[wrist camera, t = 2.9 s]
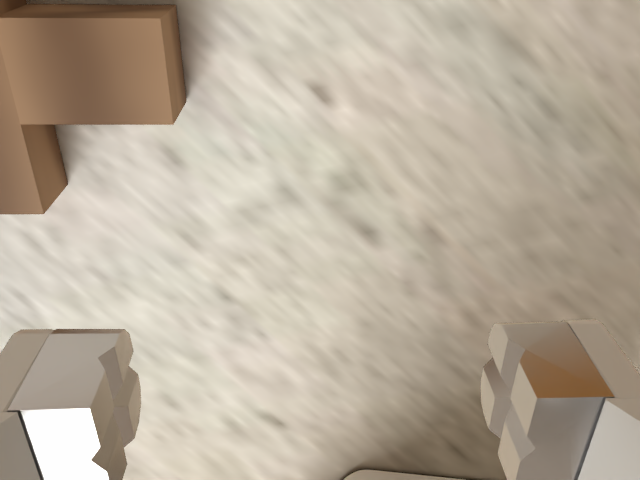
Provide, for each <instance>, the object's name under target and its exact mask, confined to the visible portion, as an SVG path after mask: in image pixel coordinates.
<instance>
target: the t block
mask: <svg viewBox="0 0 640 480" xmlns="http://www.w3.org/2000/svg"><path fill="white" fill-rule="evenodd" d="M185 103H186V93H185V83H184V74H183V65H182V56H181V47H180V38H179V28H178V19H177V10H176V5H106V4H27V3H26V0H0V214H44V213H45V212H46V211H47V209H48V208H49V207H50V206H51V204H52V203H53V202H54V201H55V200H56V198H57V197H58V196H59V195H60V193H61V192H62V191H63V190H64V188H65V187H66V186H67V185H68V183H67V178H66V174H65V169H64V165H63V161H62V156H61V152H60V148H59V143H58V139H57V134H56V130H55V126H54V124H174V122H175V121H176V119H177V117H178V115H179V114H180V112H181V110H182V108H183V107H184V105H185Z"/></svg>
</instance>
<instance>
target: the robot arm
mask: <svg viewBox="0 0 640 480" xmlns="http://www.w3.org/2000/svg"><path fill="white" fill-rule="evenodd" d="M488 347H489V349H490V352H491V354H492V356H493V358H492V359H491V360H490V361H489V362H488V363H487V364H486V365H485V366H484V367H483V371H482V377H481V383H480V387H481V404H482V409H483V414H484V417H485V420H486V423H487V426H488V429H489V430H490V431H491V432H493V433H494V434H495V435H496V436H498V437H499V438H500V439H501V441H500V445H499V450H498V457H499V459H500V462H501V465H502V467H503V470H504V473H505V475H506V478H507V480H640V374H639V373H638V372H637V370H636V369H635V367H634V366H633V365H632V363H631V362H630V361H629V359H628V358H627V356H626V355H625V354H624V352H623V351H622V350H621V348H620V347H619V345H618V344H617V343H616V341H615V340H614V339H613V337H612V336H611V334H610V333H609V332H608V330H607V329H606V328H605V326H604V325H603V324H602V323H601V322H599V321H597V320H596V319H585V320H562V321H561V322H517V323H494V325H493V327H492V329H491V331H490V335H489V339H488ZM132 354H133V347H132V342H131V338H130V334H129V333H128V332H127V331H126V330H125V329H56V330H52V329H36V330H20V331H18V332H16V333H14V334H13V335H12V336H11V338H10V339H9V341H8V342H7V344H6V346H5V347H4V349H3V350H2V352H1V353H0V480H122V479H123V476H124V473H125V469H126V466H127V461H126V456H125V452H124V447H125V446H126V445H127V444H129V443H130V442H131V441H132V440H133V439H134V438H135V435H136V431H137V427H138V424H139V417H140V408H141V389H140V382H139V376H138V374H137V373H136V372H135V371H134V370H133V369H132V368H130V367H129V363H130V360H131V357H132ZM344 480H464V479H454V478H445V477H435V476H426V475H416V474H406V473H397V472H387V471H377V470H359V471H356V472H354V473H352V474H350V475H349V476H347V477H346V478H345V479H344Z"/></svg>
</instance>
